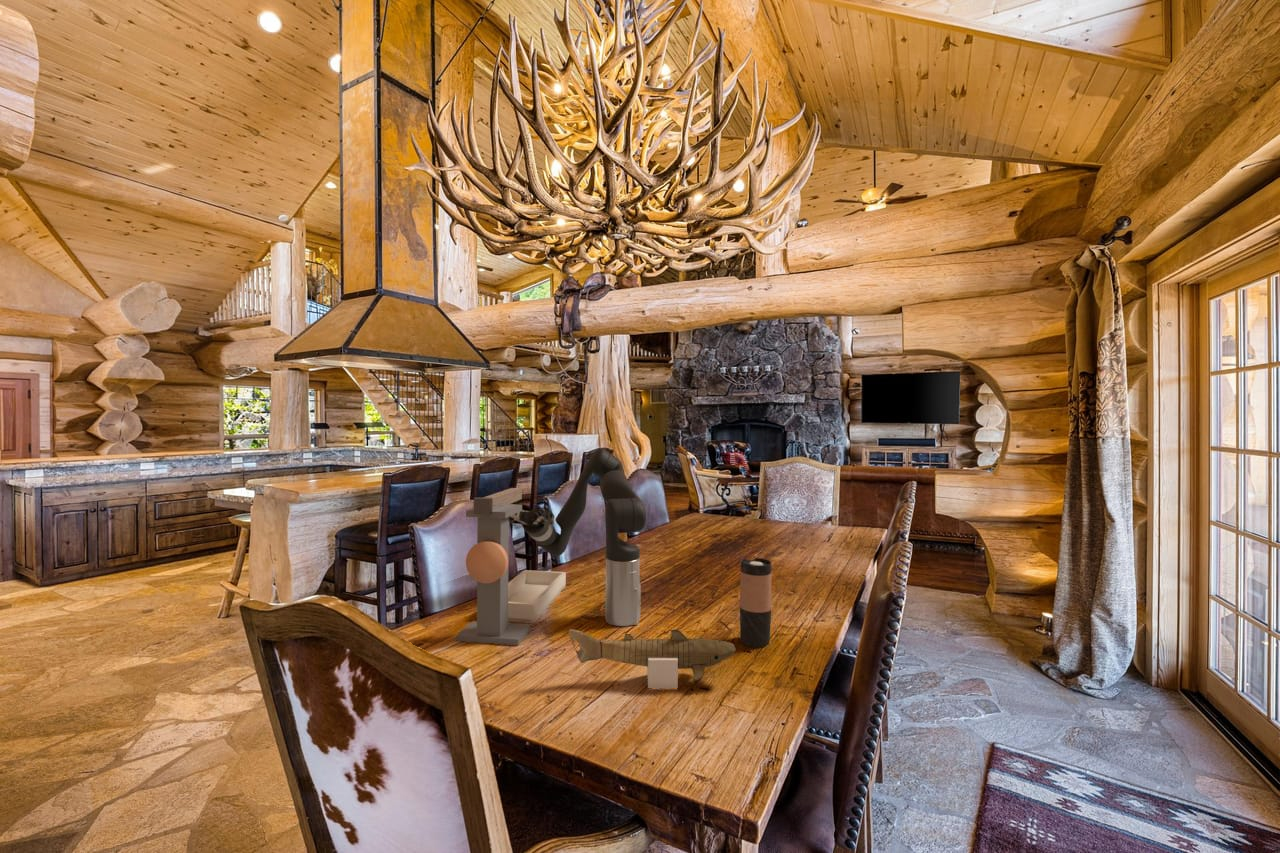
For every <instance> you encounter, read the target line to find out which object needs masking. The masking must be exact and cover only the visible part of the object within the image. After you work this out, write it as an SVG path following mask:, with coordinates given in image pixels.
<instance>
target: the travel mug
mask: <svg viewBox="0 0 1280 853" xmlns="http://www.w3.org/2000/svg"><path fill="white" fill-rule="evenodd" d="M739 578H740V580H739V582H740V584H739V585H740V586H739V589H740V591H739V624H740V625H739V627H740V628H739V632H740V633H739V636H740V637H739V640H740V642H741V644H743V645H745V646H747V647H750V648H756V647H760V648H765V646H766V647H768V646H769V645H770V642H771V640H770V639H771V625H772V624H771V620H772V562H771V561H770V560H768V559H766V558H761V557H756V558H754V559H748V558H746V557H745V558H742V559H741V560H740V577H739ZM767 645H768V646H767Z"/></svg>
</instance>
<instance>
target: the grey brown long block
mask: <svg viewBox="0 0 1280 853" xmlns="http://www.w3.org/2000/svg"><path fill="white" fill-rule="evenodd" d="M522 499H523V488H521V487H518V488H517V487H510V488H507V489H504V490H502V491H499V492H495V493H492V494H490V495H487V496H484V497H479V496H478V497H473V508H474V514H477V515H491V514H492V511H494V510H497V509H499V508H501V507H504V506H506V505H509V504H513V503H516V502H518V501H520V500H522Z"/></svg>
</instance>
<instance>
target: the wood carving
mask: <svg viewBox="0 0 1280 853" xmlns="http://www.w3.org/2000/svg"><path fill="white" fill-rule="evenodd" d="M670 633H671V634H670V635H671V636H670V638H668V639H667V638H634V636H633V635H631V634H630V633H625V634H624V637H623V638H621V639H612V640H610V639H607V640H606V641H605V638H602V639H600V640H598V639H597V638H595V637H593V636H591V635H589V634H587V633H585V632H583V631H580V630H576V629H569V630H568V637H569V640H570V642H571V644H572V646H573V648H574V651H575V653H576V655H577V658H578V661H579V662H580V663H582V664H583V663H586V662H589V661H596V660H597V661H598V660H601V659H607V660H609V661H610V660H611V661H613V662H619V663H622V664H628V665H629V664H630V665H635V666H640V667H641V666H642V667H647V668H646V672H647V673H646V678H647V679H648V680H647V689H648V688H656V689H655V690H661V689H660V688H666V689H665V690H672V689H671V688H678V680H679V679H678V677H679V675H678V674H679V671H678V669H679V670H681V669H685V670H687V669H690V670H692V675H693V683H697V682H699V681H701V679H702V678H703V676H704V673H705V669H706V668H709V667H713V666H716V665H719V664H720V663H721V662H723V661H726V660H727V659H728V658H730V657H731V656H733V655H734V654H735V652H736V646H735V644H734V643H732V642H728V641H724V640H718V639H717V640H716V639H712V638H711V639H710V638H693V637H692V638H690V637H689V638H688V637H687V636H686V635H685V634H684V633H683V632H682V631H680V630H679V629H670ZM575 641H576V642H577V643H578V645H579V650H577V648H576V646H575Z"/></svg>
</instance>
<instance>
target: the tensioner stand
mask: <svg viewBox="0 0 1280 853" xmlns="http://www.w3.org/2000/svg"><path fill="white" fill-rule="evenodd" d="M522 510H523V504H516V503H515V504H513V503H511V504H509V505H506V506H504V507H501V508H499V509H497V510H494V511H492V514H491V515H477V514H474V507H472V508H469V509H466V511H465V517H466V518H477V525H476V526H477V528H476V529H477V530H476V531H477V535H476V537H477V540H476V541H477V543H476V544H475V545H473V546H472V547H470V549H469V550H468V552H467V554H466V557H465V567H466V570H467V572H468V573H469V575H470V577H471V578H472V579H473V580H475V581H476V621H475V620H472V621H471V622H470V623H468V624H467V625H466V626H465V627H463V628H462V630H460V631H459V632H458V633H457V634H455V641H456V640H457V641H456V642H461V641H470V642H469V643H474V642H481V643H480V644H488V643H496V644H495V645H501V644H506V645H505V646H514V645H516V646H515V647H518V646H519V645H520V644H521V643H522V642H523V641H524V640H525V639H526V637H527V636H528V635H529V634H530V633H531V632H532V624H521V623H519V624H518V623H509V621H508V583H509V561H510V560H509V557H510V556H509V548H510V545H509V542H510V540H509V539H510V538H509V535H510V534H509V533H510V532H509V530H510V529H509V528H510V526H509V525H510V522H509V516H511V515H513V514H516V513H518V512H520V511H522ZM520 513H521V512H520ZM529 632H530V633H529ZM528 633H529V634H528ZM523 639H524V640H523ZM522 640H523V641H522ZM521 641H522V642H521Z"/></svg>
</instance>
